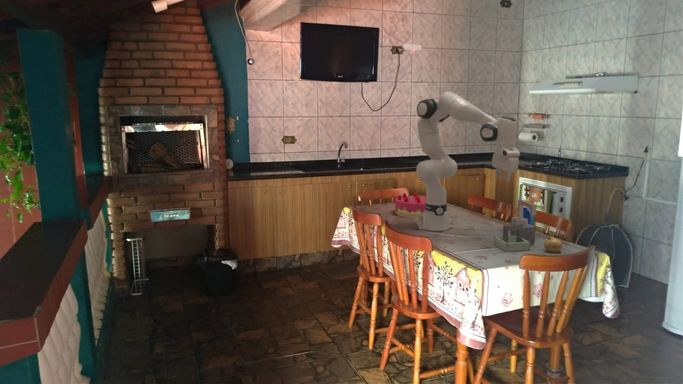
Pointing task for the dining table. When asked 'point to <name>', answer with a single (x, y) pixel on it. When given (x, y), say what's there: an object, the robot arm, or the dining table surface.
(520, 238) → the loose hook
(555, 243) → the onion
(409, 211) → the cake
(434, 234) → the dining table surface
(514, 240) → the bin
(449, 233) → the dining table surface
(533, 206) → the clamped hook
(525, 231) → the vise
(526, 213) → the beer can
